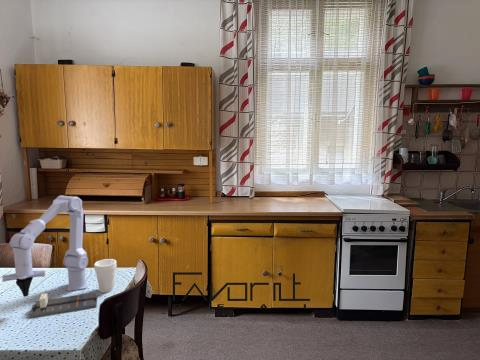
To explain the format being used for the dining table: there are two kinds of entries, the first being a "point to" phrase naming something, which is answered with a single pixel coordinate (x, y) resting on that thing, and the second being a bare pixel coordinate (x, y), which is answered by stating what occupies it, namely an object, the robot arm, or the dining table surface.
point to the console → (65, 304)
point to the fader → (43, 300)
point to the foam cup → (106, 274)
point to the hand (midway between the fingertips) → (26, 295)
